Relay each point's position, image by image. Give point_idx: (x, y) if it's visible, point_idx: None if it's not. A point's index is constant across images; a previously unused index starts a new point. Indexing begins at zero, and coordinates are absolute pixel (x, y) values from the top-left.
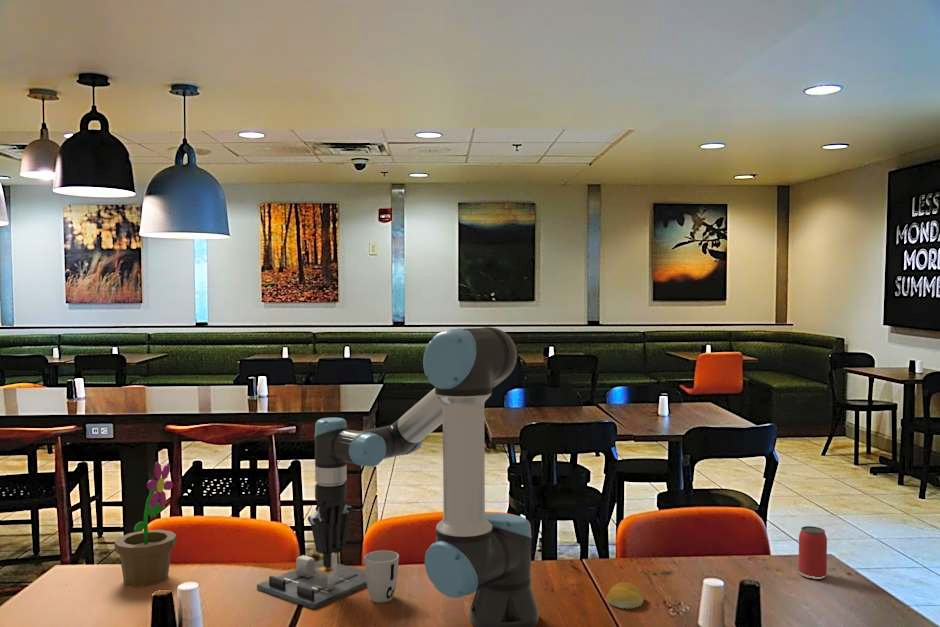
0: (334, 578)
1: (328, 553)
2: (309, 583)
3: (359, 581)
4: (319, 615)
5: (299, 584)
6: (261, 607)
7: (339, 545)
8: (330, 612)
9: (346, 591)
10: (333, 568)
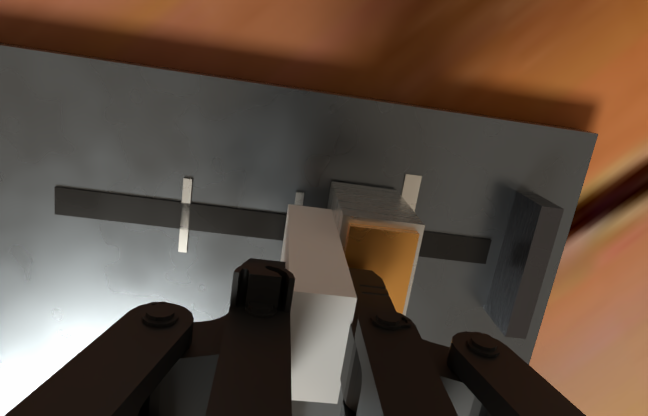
0: (338, 198)
1: (410, 327)
2: None
3: (143, 106)
4: (638, 44)
5: None
6: (638, 375)
7: (238, 330)
8: (580, 10)
9: (316, 91)
10: (333, 240)
